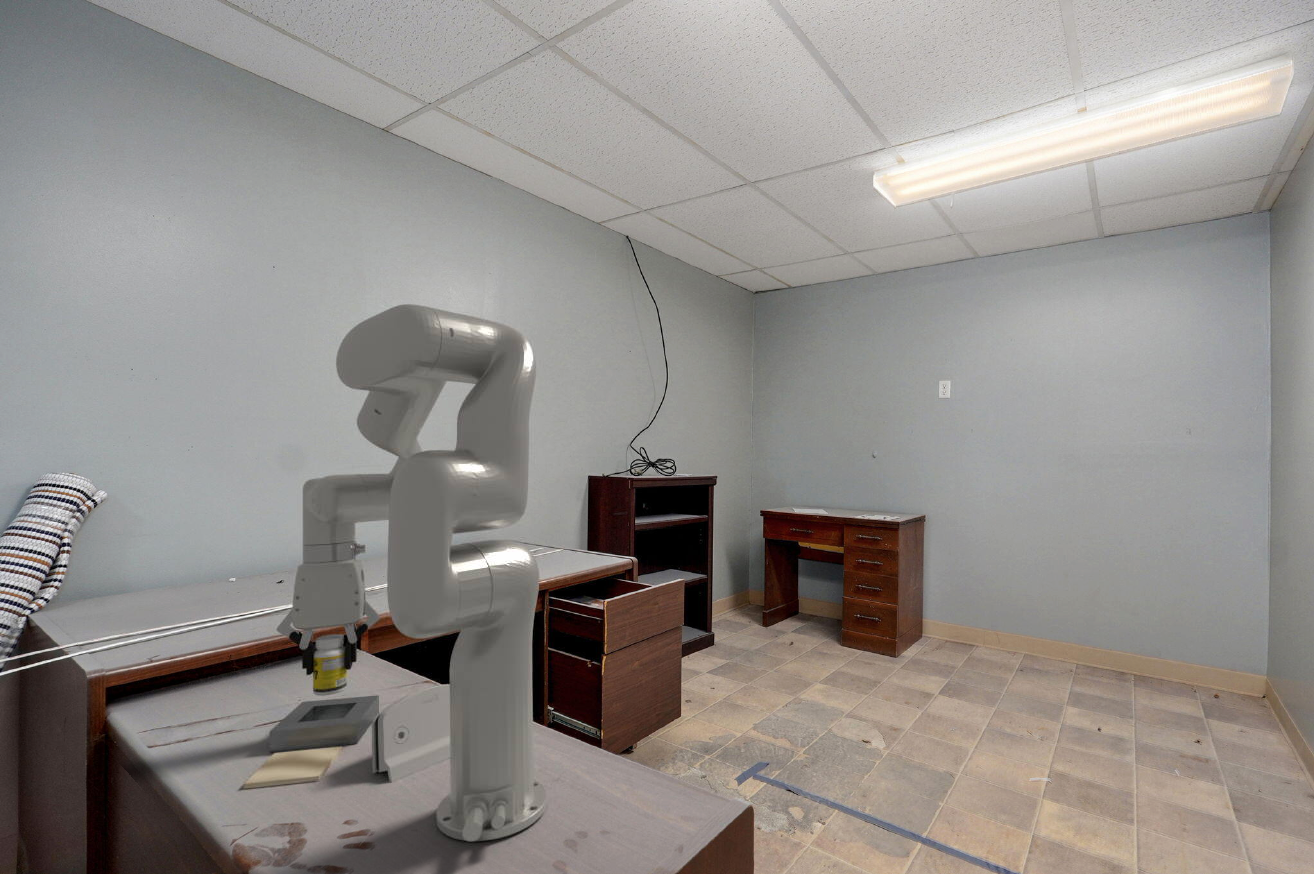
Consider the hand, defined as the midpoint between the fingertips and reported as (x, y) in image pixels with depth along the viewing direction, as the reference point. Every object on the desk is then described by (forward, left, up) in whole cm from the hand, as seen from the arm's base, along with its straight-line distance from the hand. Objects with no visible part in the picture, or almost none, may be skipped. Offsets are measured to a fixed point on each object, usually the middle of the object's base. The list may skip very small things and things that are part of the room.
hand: (330, 668), depth 96 cm
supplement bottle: (0, 0, -4) cm, 4 cm away
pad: (-12, 0, -10) cm, 16 cm away
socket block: (0, 0, -10) cm, 10 cm away
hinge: (-11, -17, -10) cm, 23 cm away
